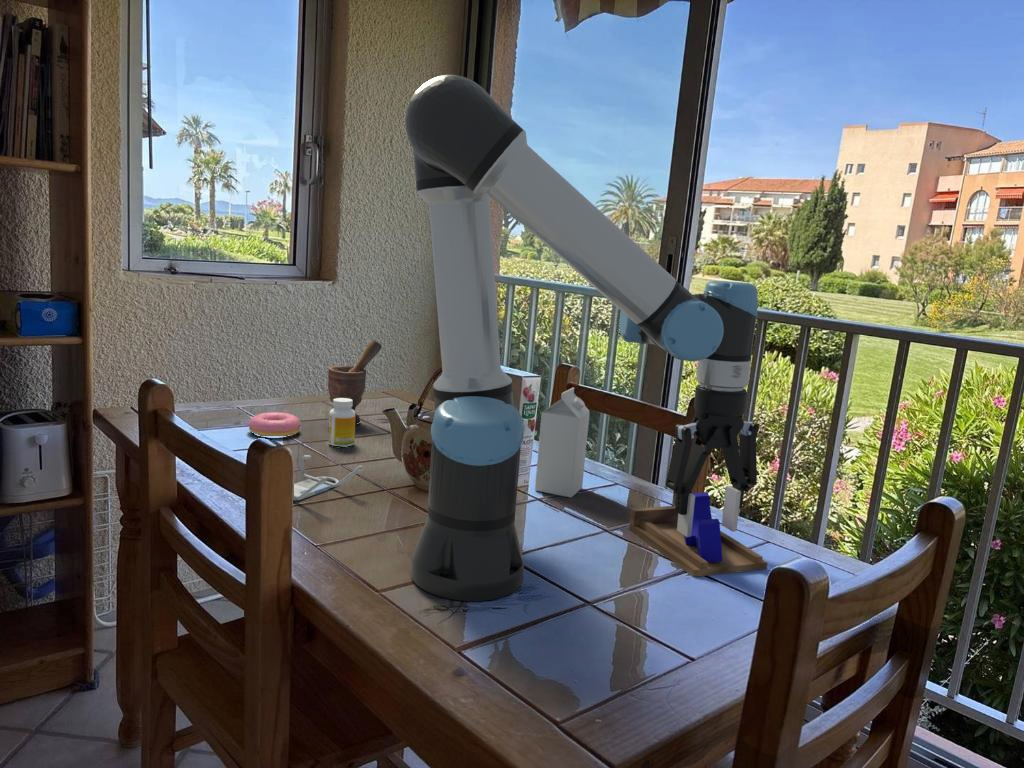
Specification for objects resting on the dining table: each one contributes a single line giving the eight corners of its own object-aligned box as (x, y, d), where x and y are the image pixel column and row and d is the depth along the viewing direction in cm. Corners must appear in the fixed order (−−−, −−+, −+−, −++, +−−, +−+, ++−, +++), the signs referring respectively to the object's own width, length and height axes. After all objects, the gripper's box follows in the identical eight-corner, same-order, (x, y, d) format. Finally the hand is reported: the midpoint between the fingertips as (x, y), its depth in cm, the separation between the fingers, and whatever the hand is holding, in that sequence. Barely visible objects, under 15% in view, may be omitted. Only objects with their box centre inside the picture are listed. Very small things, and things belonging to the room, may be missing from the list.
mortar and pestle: (363, 416, 182) (367, 336, 178) (382, 424, 175) (386, 341, 171) (320, 421, 174) (322, 337, 170) (337, 429, 168) (340, 342, 164)
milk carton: (534, 491, 136) (543, 390, 133) (547, 481, 143) (555, 384, 139) (571, 498, 134) (581, 396, 130) (582, 488, 140) (592, 390, 137)
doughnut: (236, 433, 159) (237, 414, 158) (277, 425, 168) (277, 407, 168) (271, 443, 154) (272, 424, 153) (311, 434, 163) (312, 416, 162)
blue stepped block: (681, 529, 120) (678, 494, 118) (710, 527, 119) (707, 492, 118) (690, 563, 108) (687, 525, 107) (722, 561, 107) (719, 522, 106)
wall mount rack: (314, 476, 135) (315, 445, 134) (373, 492, 129) (375, 460, 128) (248, 498, 122) (248, 464, 121) (310, 518, 116) (311, 482, 115)
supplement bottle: (359, 444, 157) (361, 400, 155) (341, 449, 153) (343, 403, 151) (341, 439, 160) (343, 395, 158) (322, 444, 155) (324, 399, 154)
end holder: (693, 576, 105) (696, 553, 104) (629, 528, 121) (631, 508, 121) (766, 568, 110) (769, 546, 109) (695, 523, 126) (697, 504, 126)
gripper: (677, 393, 103) (663, 547, 107) (794, 389, 110) (776, 533, 115) (648, 383, 110) (636, 528, 114) (760, 379, 117) (745, 516, 122)
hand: (706, 530), depth 114 cm, fingers open, 8 cm apart
